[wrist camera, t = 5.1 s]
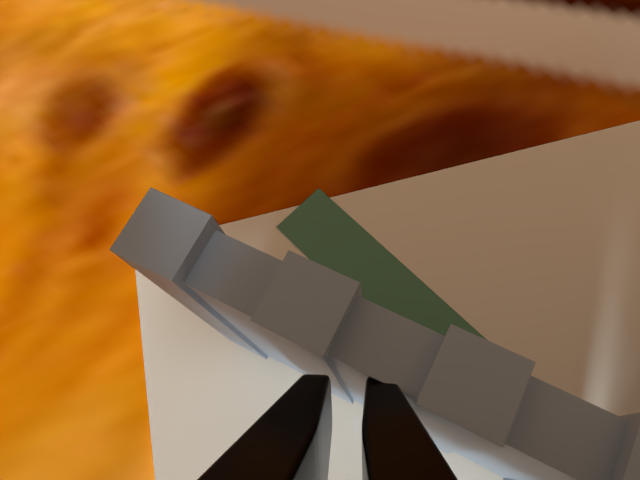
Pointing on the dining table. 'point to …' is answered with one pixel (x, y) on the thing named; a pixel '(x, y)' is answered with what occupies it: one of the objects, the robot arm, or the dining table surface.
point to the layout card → (430, 290)
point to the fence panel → (378, 350)
